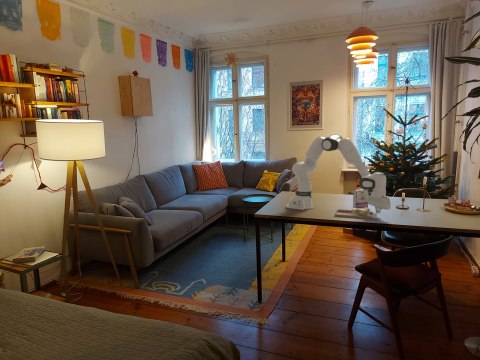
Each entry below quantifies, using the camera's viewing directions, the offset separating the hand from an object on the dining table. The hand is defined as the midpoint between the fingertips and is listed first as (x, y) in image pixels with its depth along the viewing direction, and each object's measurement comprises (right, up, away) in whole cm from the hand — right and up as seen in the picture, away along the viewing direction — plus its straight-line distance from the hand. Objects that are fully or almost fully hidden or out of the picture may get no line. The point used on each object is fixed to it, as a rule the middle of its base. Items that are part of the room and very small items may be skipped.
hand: (378, 212), depth 246 cm
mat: (-15, -3, +7) cm, 16 cm away
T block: (-11, -3, +5) cm, 12 cm away
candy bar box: (-5, 0, +24) cm, 25 cm away
